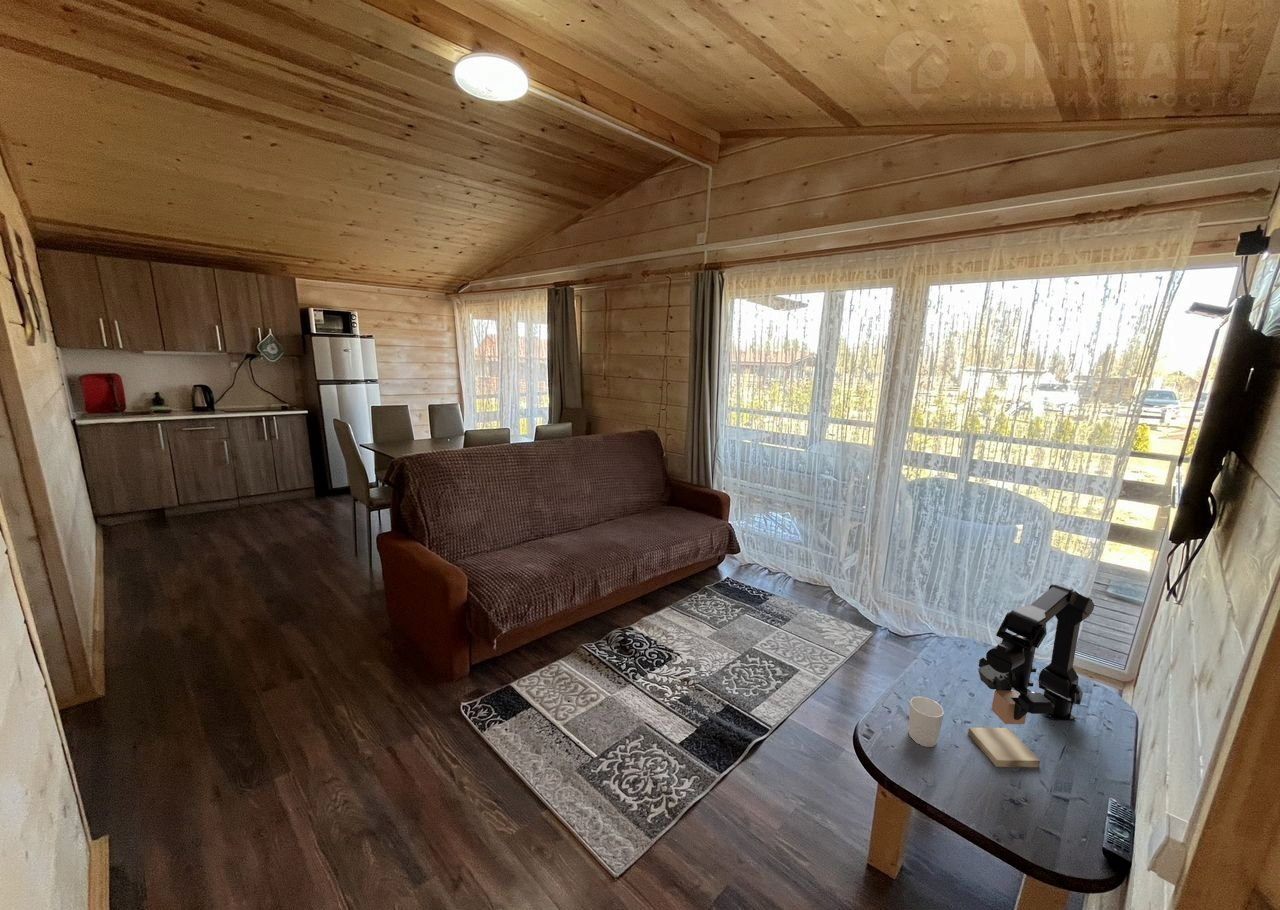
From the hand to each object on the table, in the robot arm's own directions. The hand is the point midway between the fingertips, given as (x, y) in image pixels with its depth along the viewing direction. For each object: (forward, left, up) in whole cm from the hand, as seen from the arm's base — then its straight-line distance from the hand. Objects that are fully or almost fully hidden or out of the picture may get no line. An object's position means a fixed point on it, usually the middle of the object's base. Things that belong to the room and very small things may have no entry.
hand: (1008, 711), depth 127 cm
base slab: (0, 0, -12) cm, 12 cm away
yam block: (0, 0, -2) cm, 2 cm away
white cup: (+19, -4, -12) cm, 23 cm away
